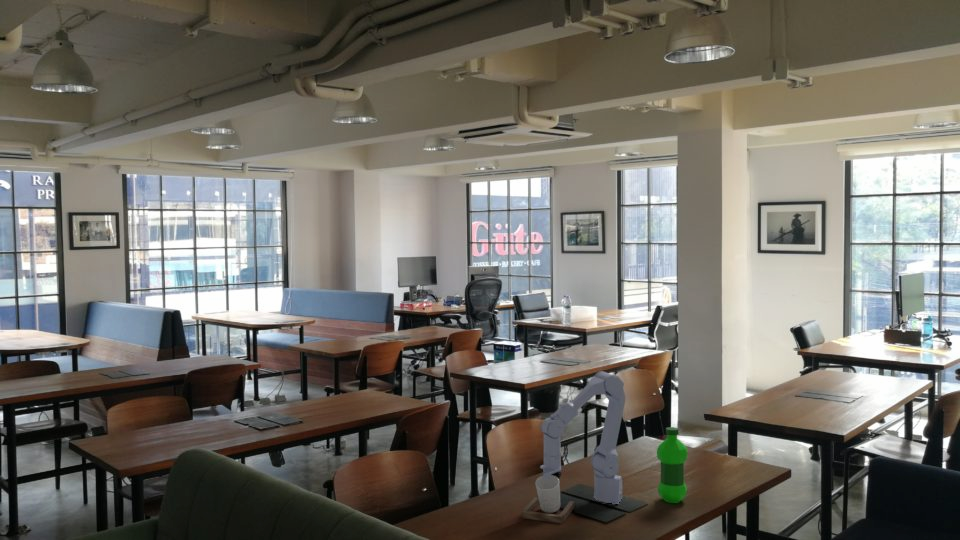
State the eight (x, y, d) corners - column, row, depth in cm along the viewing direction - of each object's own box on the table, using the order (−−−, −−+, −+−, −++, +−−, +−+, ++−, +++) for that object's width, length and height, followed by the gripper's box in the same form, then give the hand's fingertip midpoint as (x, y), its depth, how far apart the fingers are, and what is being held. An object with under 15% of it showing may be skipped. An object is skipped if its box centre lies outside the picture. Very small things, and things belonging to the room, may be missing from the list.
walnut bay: (574, 507, 262) (574, 501, 262) (562, 523, 247) (562, 517, 247) (535, 502, 267) (534, 496, 267) (520, 518, 252) (520, 511, 252)
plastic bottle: (688, 497, 270) (688, 426, 269) (686, 507, 260) (686, 433, 259) (659, 494, 274) (658, 424, 273) (655, 504, 264) (655, 431, 263)
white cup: (561, 514, 255) (558, 489, 252) (538, 514, 257) (534, 490, 253) (562, 498, 262) (559, 474, 259) (539, 499, 264) (536, 474, 260)
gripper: (546, 447, 270) (547, 486, 270) (534, 458, 256) (534, 499, 257) (566, 449, 267) (566, 488, 268) (554, 461, 253) (555, 501, 254)
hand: (552, 493), depth 262 cm, fingers closed, pressing on white cup
